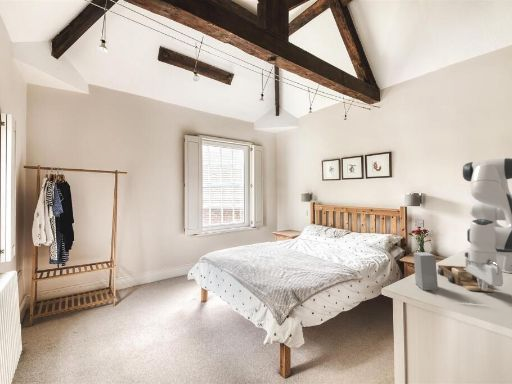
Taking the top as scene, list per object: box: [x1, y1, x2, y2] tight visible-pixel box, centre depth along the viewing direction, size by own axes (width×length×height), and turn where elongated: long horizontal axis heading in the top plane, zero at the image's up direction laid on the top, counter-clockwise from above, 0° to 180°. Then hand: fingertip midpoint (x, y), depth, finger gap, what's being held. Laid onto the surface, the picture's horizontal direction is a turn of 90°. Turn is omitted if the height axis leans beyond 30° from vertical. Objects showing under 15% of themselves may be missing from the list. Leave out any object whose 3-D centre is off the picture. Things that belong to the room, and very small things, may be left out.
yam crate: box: [452, 268, 472, 281], centre depth 129 cm, size 6×6×5 cm
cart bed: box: [437, 264, 479, 287], centre depth 129 cm, size 15×21×4 cm
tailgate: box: [461, 285, 495, 293], centre depth 116 cm, size 9×1×6 cm
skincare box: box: [413, 251, 439, 291], centre depth 120 cm, size 8×7×16 cm
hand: (483, 289), depth 111 cm, fingers closed
